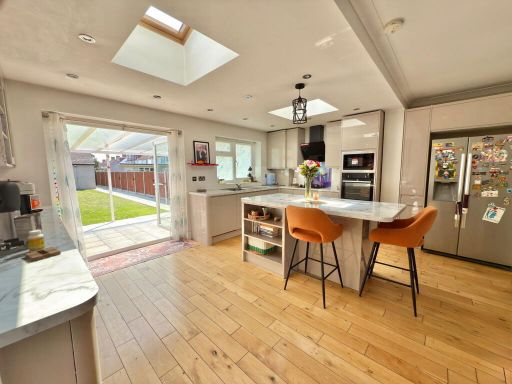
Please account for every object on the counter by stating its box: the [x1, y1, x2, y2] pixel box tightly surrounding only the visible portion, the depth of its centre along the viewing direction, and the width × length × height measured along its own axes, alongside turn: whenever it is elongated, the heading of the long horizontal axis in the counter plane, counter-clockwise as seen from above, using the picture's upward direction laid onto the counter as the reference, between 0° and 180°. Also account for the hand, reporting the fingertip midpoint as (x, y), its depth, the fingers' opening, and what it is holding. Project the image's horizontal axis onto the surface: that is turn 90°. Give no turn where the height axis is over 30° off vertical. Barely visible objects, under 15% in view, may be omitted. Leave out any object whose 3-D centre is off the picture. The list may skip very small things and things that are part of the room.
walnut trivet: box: [24, 246, 62, 262], centre depth 93 cm, size 11×9×2 cm
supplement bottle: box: [28, 230, 46, 252], centre depth 99 cm, size 5×5×10 cm
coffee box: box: [14, 213, 44, 250], centre depth 106 cm, size 9×6×16 cm
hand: (21, 241), depth 95 cm, fingers open, 8 cm apart
